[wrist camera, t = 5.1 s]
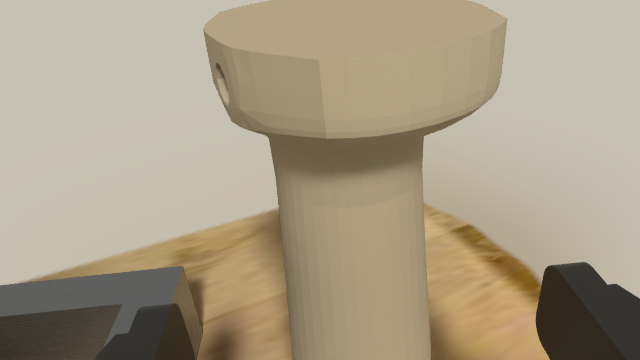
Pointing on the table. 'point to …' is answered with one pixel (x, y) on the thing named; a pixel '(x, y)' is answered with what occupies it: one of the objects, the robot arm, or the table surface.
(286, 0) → the handle
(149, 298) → the housing
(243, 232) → the table surface
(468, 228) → the table surface
